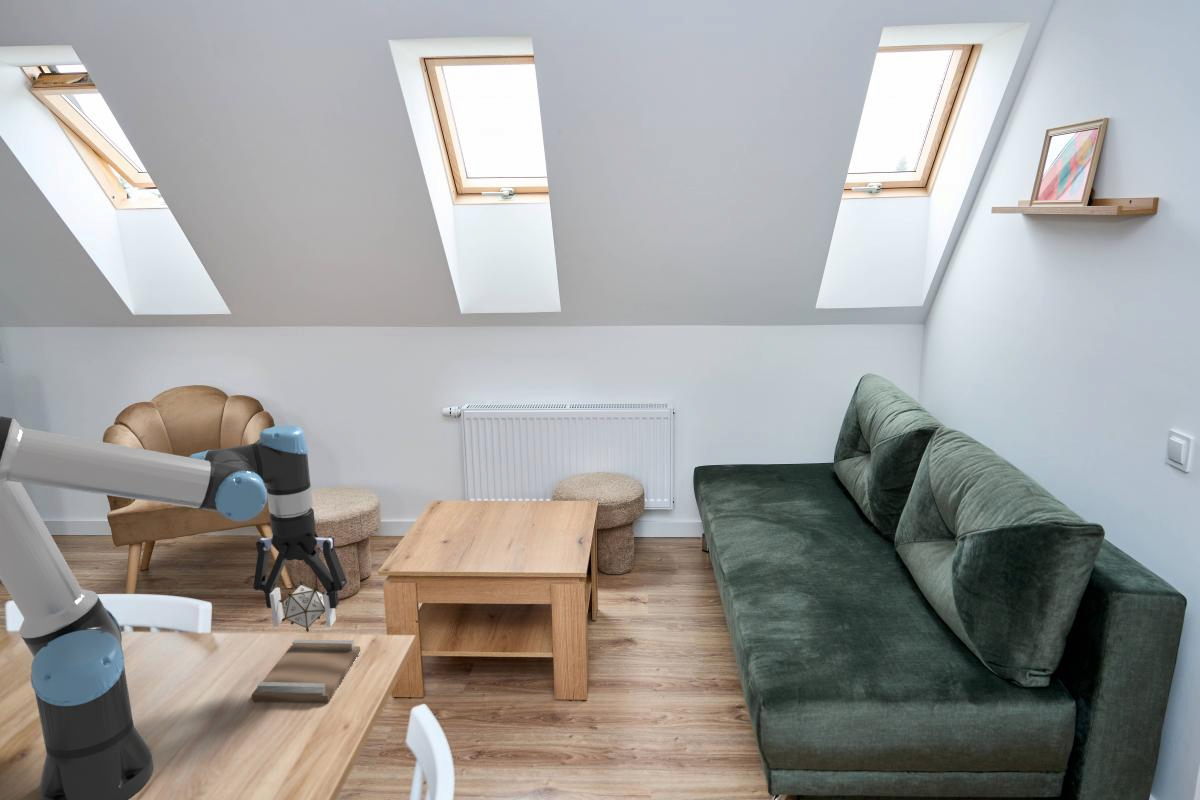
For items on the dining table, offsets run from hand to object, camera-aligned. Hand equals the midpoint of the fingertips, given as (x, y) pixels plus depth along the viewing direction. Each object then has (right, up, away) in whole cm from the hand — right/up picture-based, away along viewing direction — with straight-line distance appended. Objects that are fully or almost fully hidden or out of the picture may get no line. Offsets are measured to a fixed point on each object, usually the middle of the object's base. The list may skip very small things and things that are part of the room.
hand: (305, 622), depth 158 cm
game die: (0, -1, 0) cm, 1 cm away
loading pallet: (0, -11, +2) cm, 11 cm away
